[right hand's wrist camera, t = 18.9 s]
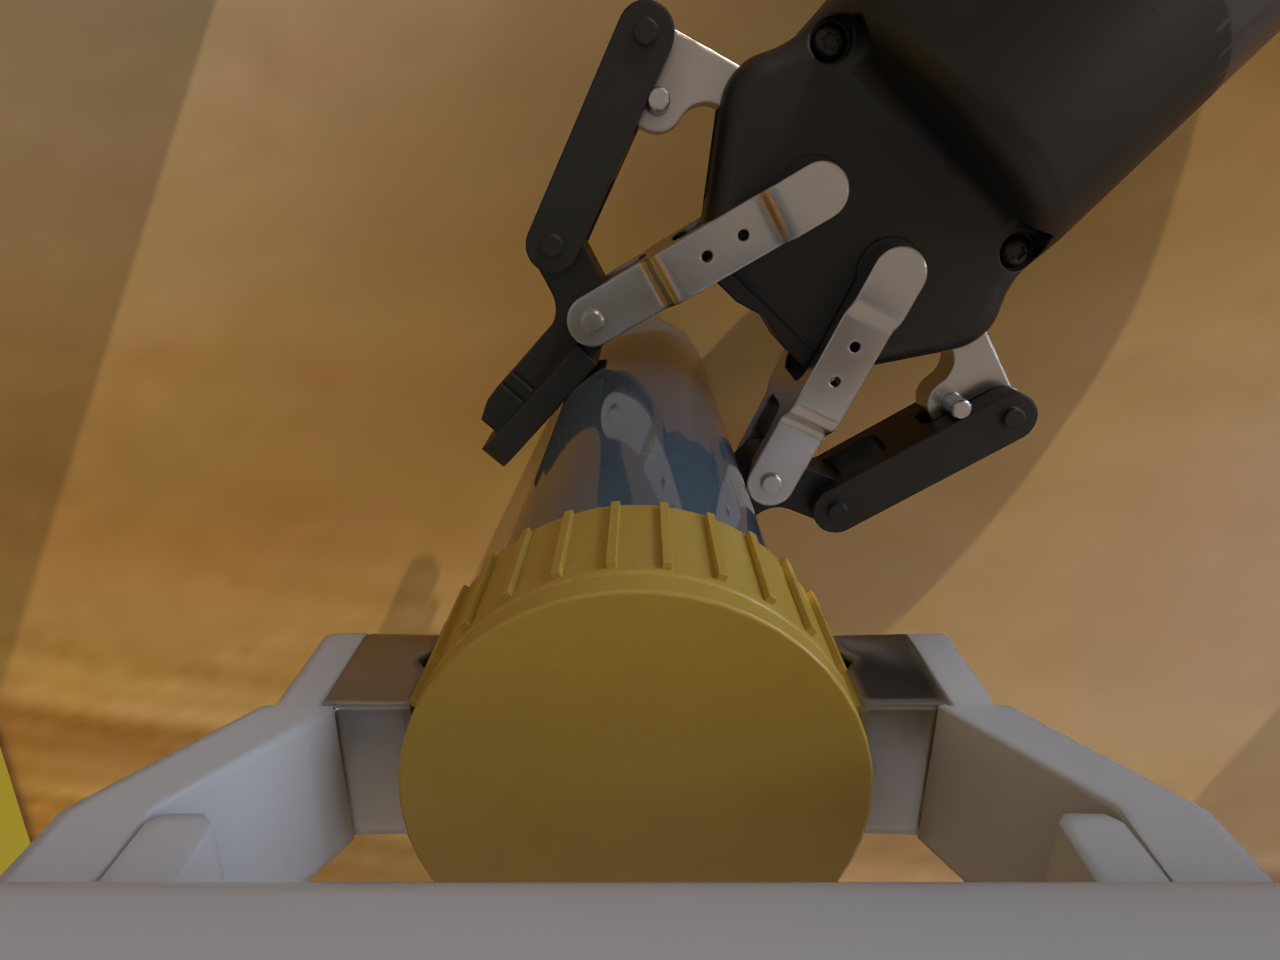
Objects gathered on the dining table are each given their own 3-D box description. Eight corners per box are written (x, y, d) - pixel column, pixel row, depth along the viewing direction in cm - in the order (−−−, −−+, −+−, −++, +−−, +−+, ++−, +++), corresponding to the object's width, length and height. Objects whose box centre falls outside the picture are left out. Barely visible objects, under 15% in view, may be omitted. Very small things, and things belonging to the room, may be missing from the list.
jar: (556, 339, 26) (381, 643, 9) (683, 298, 26) (775, 532, 8) (598, 459, 28) (523, 928, 10) (719, 423, 27) (864, 849, 10)
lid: (907, 601, 10) (978, 710, 8) (714, 877, 12) (731, 1030, 9) (537, 426, 9) (507, 496, 7) (385, 748, 11) (323, 884, 9)
